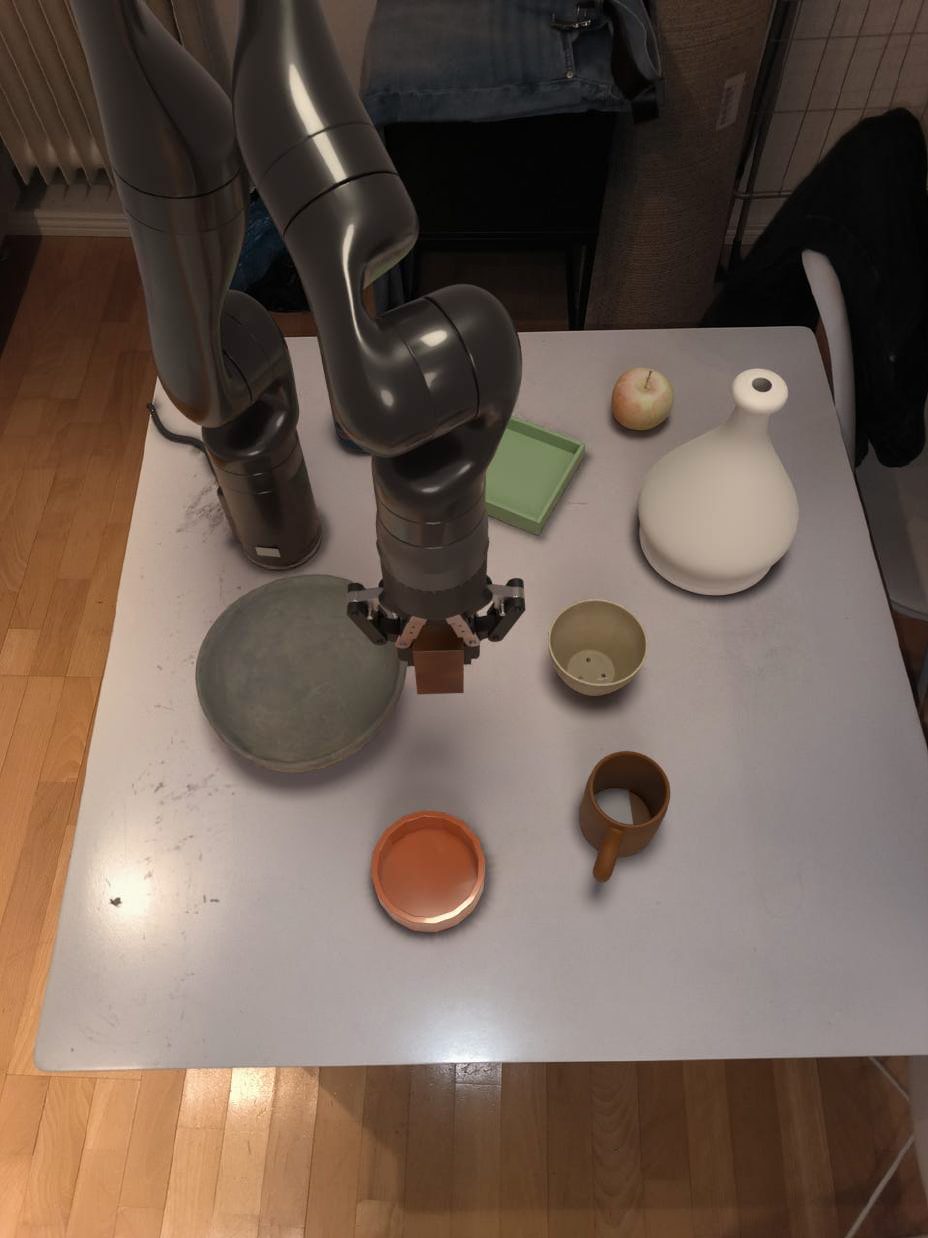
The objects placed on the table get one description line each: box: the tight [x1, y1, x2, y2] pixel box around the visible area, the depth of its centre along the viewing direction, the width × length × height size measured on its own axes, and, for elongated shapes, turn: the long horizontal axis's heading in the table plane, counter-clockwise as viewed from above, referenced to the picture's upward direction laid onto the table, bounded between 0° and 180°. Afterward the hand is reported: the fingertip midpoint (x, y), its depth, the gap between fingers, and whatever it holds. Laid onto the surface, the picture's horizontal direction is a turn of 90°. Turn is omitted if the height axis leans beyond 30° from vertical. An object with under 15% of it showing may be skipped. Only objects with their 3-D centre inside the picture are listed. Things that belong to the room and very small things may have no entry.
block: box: [413, 624, 465, 695], centre depth 80 cm, size 4×4×8 cm
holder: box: [370, 810, 486, 933], centre depth 91 cm, size 10×10×4 cm
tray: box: [485, 415, 586, 536], centre depth 116 cm, size 17×13×2 cm
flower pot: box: [547, 598, 649, 697], centre depth 100 cm, size 10×10×7 cm
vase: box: [637, 367, 800, 596], centre depth 101 cm, size 17×17×25 cm
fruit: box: [610, 367, 675, 431], centre depth 117 cm, size 8×7×8 cm
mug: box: [579, 750, 671, 883], centre depth 90 cm, size 12×8×9 cm, turn 159°
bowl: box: [194, 573, 408, 773], centre depth 99 cm, size 21×21×8 cm
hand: (438, 655), depth 81 cm, fingers closed on block, 4 cm apart
